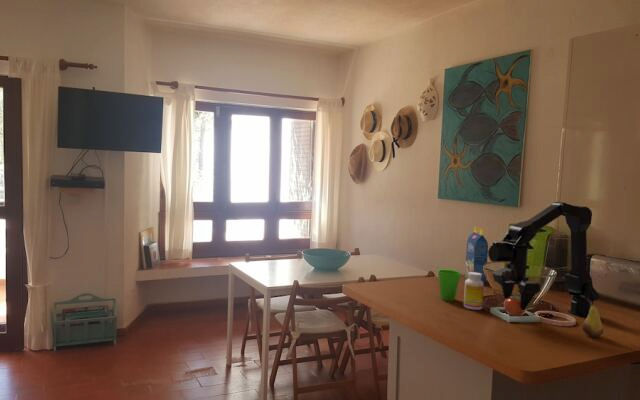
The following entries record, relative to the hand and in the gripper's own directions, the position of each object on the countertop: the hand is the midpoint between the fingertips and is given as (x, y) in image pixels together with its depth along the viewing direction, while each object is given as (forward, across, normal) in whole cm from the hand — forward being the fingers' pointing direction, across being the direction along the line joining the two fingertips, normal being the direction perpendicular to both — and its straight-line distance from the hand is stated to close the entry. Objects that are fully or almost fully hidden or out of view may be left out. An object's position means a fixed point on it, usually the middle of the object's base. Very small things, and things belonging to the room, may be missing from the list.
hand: (514, 305), depth 167 cm
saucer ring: (+4, +4, +13) cm, 14 cm away
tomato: (+4, 0, 0) cm, 4 cm away
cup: (+4, -24, -13) cm, 28 cm away
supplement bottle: (+4, -12, -9) cm, 16 cm away
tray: (+4, 0, 0) cm, 4 cm away
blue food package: (+4, -56, +17) cm, 59 cm away
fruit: (+4, +20, +14) cm, 25 cm away
